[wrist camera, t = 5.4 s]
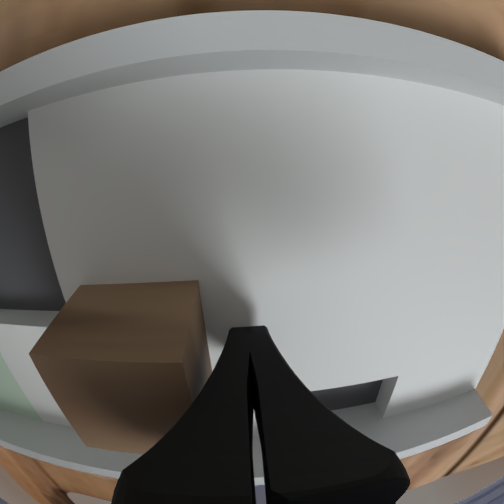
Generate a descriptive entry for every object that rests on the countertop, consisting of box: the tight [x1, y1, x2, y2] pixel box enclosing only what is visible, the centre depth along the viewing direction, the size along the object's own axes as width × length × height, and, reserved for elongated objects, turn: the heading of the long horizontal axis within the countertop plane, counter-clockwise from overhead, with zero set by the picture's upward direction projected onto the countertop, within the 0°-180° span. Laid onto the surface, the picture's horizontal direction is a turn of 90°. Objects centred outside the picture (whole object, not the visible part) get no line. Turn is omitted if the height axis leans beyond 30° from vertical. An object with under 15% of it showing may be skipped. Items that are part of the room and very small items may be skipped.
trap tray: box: [0, 10, 504, 485], centre depth 10 cm, size 18×33×4 cm, turn 93°
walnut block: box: [29, 280, 212, 455], centre depth 9 cm, size 4×4×4 cm
